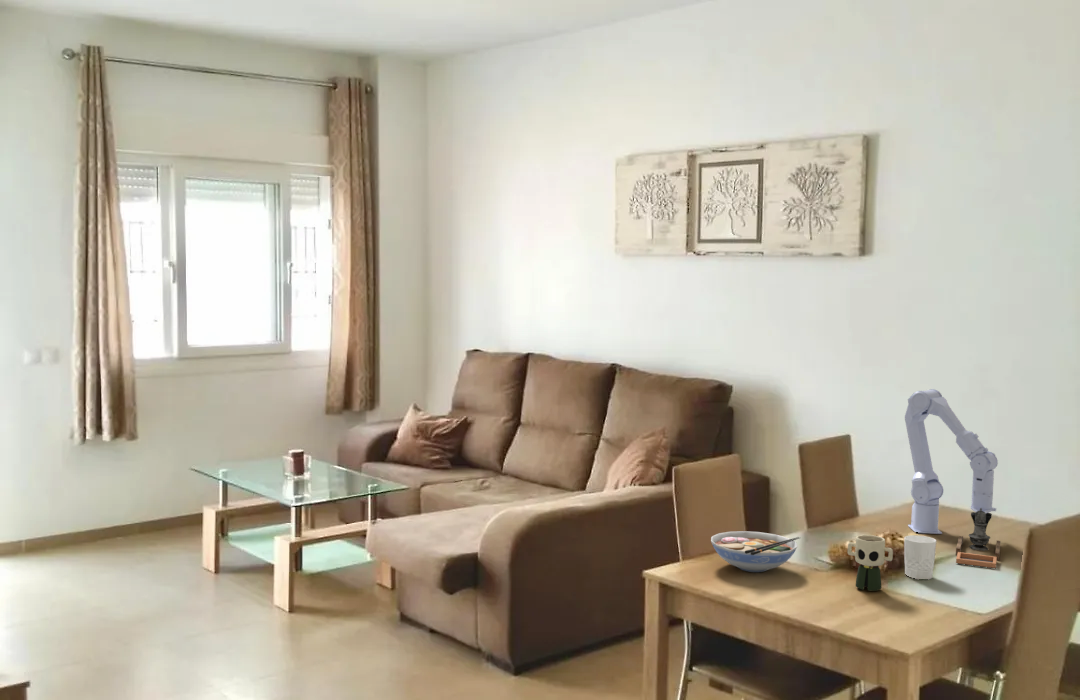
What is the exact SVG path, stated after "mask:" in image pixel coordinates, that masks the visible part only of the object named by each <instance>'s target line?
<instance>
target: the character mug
mask: <svg viewBox="0 0 1080 700" xmlns="http://www.w3.org/2000/svg"><path fill="white" fill-rule="evenodd" d="M853 547H854V549H855V550H854V551H852V548H853ZM886 552H888V556H885V554H886ZM847 555H849V556H854V559H855V562H856V563H858V564H859V566H858V568H857V573H856V579H855V587H856V588H857V589H859V590H865V588H867V591H871V592H872V591H873V592H875V591H880V590H881V589H882V575H881V568H880V566H882V565H884V563H885V561H887V562H892V561H893V555H894V550H893V548H891V547H886V539H885V538H884V537H882V536H877V535H872V534H861V535H856V537H855V542H848V543H847Z"/></svg>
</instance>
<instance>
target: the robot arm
mask: <svg viewBox="0 0 1080 700" xmlns="http://www.w3.org/2000/svg"><path fill="white" fill-rule="evenodd" d="M904 414H905V415H904V421H905V427H906V433H907V437H908V443H909V449H910V453H911V454H910V455H911V458H912V460H911V461H912V464H913V471H914V474H913V477H912V479H911V484H912V485H911V490H910V494H911V497H912V499H913V501H914V503H913V504H912V506H911V516H910V517H911V520H910V521H911V524H907V526H908V528H910V529H911V530H912V531H913V532H914V533H915V532H918V533H917V534H935V535H942V534H943V532H942V531H941V530H940V529H939V516H940V515H939V512H940V499H941V498H942V497H943V495H944V487H943V485H942V483H941V482H940V481H939V476H938V475H937V473H936V472H935V471H934V468H933V462H932V458H931V453H930V446H929V441H928V437H927V431H926V427H925V420H926V419H927V418H928V417H929V415H932V416H935V417H938V418H940V419H941V421H942V422H943V423H944V424H945V426H947V428H948V429H949V430H950V431H951V432H952V433H953V434H954V436H955V443H956V444H957V446H958V448H960V450H961V451H962V452H963V454H964V455H965V456H966V457H967V459H968V460H969V465H970V468H971V469H972V472H973V473H972V484H971V485H972V487H971V492H972V493H971V505H970V510H972V512H970V517H971V519H972V521H973V525H974V526H975V524H974V522H975V513H976V512H977V511H979V510H980V508H982V511H983V512H985V513H986V524H987V525H986V529H985V531H986V532H987V528H988V524H989V522H990V521H991V519H992V513H991V512H997V507H994V506H993V499H994V498H993V496H994V480H995V479H994V478H995V476H994V474H995V469H997V466H998V464H999V462H998V461H999V460H998V458H997V456H996V454H995V453H994V452H992V451H990V450H989V448H987V447H985V446H984V445H983V443H982V441H980V439H979V435H978V434H977V433H974V432H973V431H970V430H967V429H966V428H965V426H964V425H963V424H962V423H961V421H960V419H959V418H958V416H957V415H956V413H955V412H954V411H953V410H952V408H951V407H950V405H949V403H948V400H947V399H946V398H945V397H944V396H943V395H942V393H941V392H940V391H939V390H937V389H935V388H932V389H931V388H930V389H926V390H917V391H914V392H913V393H912V394H911V395H910V396H909V398H908V399H907V408H906V410H905V413H904ZM974 526H973V527H974Z"/></svg>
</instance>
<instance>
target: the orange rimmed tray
mask: <svg viewBox="0 0 1080 700" xmlns="http://www.w3.org/2000/svg"><path fill="white" fill-rule="evenodd" d="M963 542H964V535H959V537H958V539H957V544H956V547H955V556H957V554H958V552H961V551H962V548H963ZM1000 553H1001V540H996V546H995V554H994V556H995V557H997V560H996V561H997V562H998V561H1000Z"/></svg>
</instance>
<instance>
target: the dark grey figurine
mask: <svg viewBox="0 0 1080 700" xmlns="http://www.w3.org/2000/svg"><path fill="white" fill-rule="evenodd" d="M974 524H975V526H973V527H974V530H973V533H969V534H968V537H969V540H970V543H972V544H971V545H969V546H968V548H969V549H971V550H974V551H975V550H976V551H981V552H983V551H985V550H986V551H989V550H988V549H989V547H988V546H986V545H988V544H989V542H990V539H991V536H990V535H987V528H986V525H987V524H986V513H985V512H983V511H982V508H980V510H979V511H977V512H976V513H975V522H973V525H974ZM987 526H988V525H987ZM985 529H986V531H985Z"/></svg>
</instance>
